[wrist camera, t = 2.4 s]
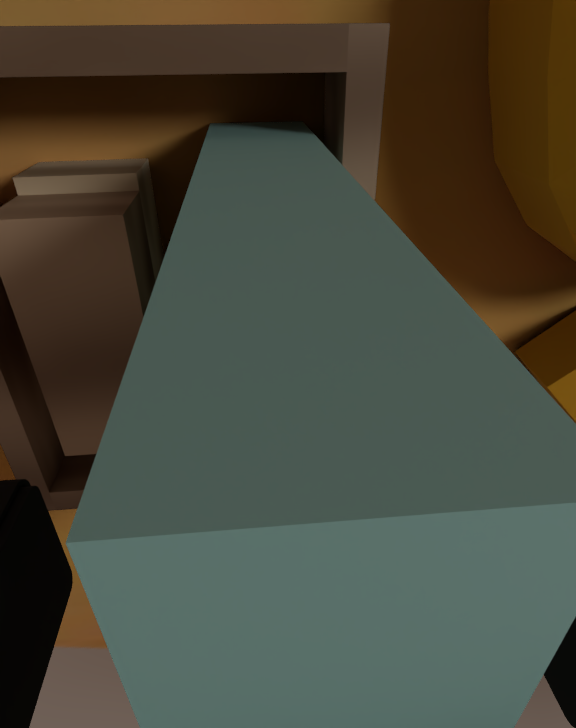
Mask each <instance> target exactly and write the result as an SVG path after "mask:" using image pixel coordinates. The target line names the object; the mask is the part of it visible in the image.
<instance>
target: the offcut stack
mask: <svg viewBox="0 0 576 728" xmlns="http://www.w3.org/2000/svg"><path fill="white" fill-rule="evenodd" d="M13 181H14V184H15V187H16V191H17V194H18V196H16V197H15V198H14V199H12V200H11V201H9V202H8V203H6V204H5V205H3V206H2V207H0V276H1V279H2V282H3V284H4V287H5V290H6V293H7V296H8V298H9V301H10V304H11V307H12V309H13V312H14V315H15V318H16V321H17V323H18V326H19V329H20V332H21V335H22V337H23V340H24V343H25V346H26V348H27V351H28V354H29V357H30V360H31V362H32V365H33V368H34V371H35V374H36V376H37V379H38V382H39V385H40V387H41V390H42V393H43V396H44V399H45V401H46V404H47V407H48V410H49V413H50V415H51V418H52V421H53V424H54V426H55V429H56V432H57V435H58V438H59V440H60V443H61V446H62V449H63V452H64V454H65V456H74V455H88V454H97V451H98V448H99V445H100V442H101V439H102V436H103V433H104V430H105V428H106V425H107V422H108V419H109V416H110V413H111V410H112V407H113V404H114V401H115V399H116V396H117V393H118V390H119V387H120V384H121V381H122V378H123V375H124V372H125V370H126V367H127V364H128V361H129V358H130V355H131V352H132V349H133V346H134V343H135V341H136V338H137V335H138V332H139V329H140V326H141V323H142V320H143V317H144V314H145V312H146V309H147V306H148V303H149V300H150V297H151V294H152V291H153V288H154V285H155V283H156V280H157V277H158V274H159V271H160V268H161V265H162V262H163V259H164V254H163V248H162V242H161V236H160V229H159V223H158V217H157V211H156V205H155V198H154V192H153V186H152V180H151V174H150V167H149V161H148V158H146V159H116V160H87V161H57V162H39V163H37V164H35V165H34V166H32V167H30V168H28V169H27V170H25V171H23V172H21V173H20V174H18V175H16V176H14V177H13Z"/></svg>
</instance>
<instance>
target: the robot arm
mask: <svg viewBox="0 0 576 728" xmlns="http://www.w3.org/2000/svg"><path fill="white" fill-rule="evenodd" d="M71 588H72V571H71V568H70V566H69V563H68V561H67V558H66V556H65V553H64V550H63V548H62V545H61V543H60V540H59V538H58V535H57V532H56V530H55V527H54V525H53V522H52V520H51V517H50V515H49V512H48V509H47V507H46V504H45V502H44V499H43V497H42V494H41V492H40V489H39V488H38V487H37V486H31V485H30V483H29V481H28V480H26V479H17V480H3V481H0V728H29V726H30V723H31V719H32V716H33V713H34V709H35V706H36V703H37V700H38V696H39V693H40V690H41V687H42V683H43V680H44V677H45V674H46V670H47V667H48V664H49V660H50V657H51V654H52V651H53V648H54V644H55V641H56V638H57V635H58V631H59V628H60V625H61V622H62V618H63V615H64V612H65V609H66V605H67V602H68V599H69V596H70V592H71ZM544 676H545V678H546V680H547V682H548V684H549V685H550V688H551V689H552V692H553V694H554V696H555V698H556V699H557V701H558V703H559V705H560V707H561V709H562V711H563V713H564V715H565V717H566V718H567V720H568V721H569V723H570V724H571V725H572V726H573V727H574V728H576V617H575V619H574V621H573V622H572V624H571V626H570V628H569V630H568V631H567V633H566V635H565V637H564V638H563V640H562V642H561V644H560V646H559V647H558V649H557V651H556V653H555V655H554V656H553V658H552V660H551V662H550V664H549V665H548V667H547V669H546V671H545V673H544Z"/></svg>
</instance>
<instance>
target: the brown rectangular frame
mask: <svg viewBox="0 0 576 728" xmlns="http://www.w3.org/2000/svg"><path fill="white" fill-rule="evenodd" d="M389 29H390V23H346V24H228V25H109V26H0V77H54V76H119V75H184V74H250V73H315V72H325V105H324V142H323V144H324V145H325V147H326V148H327V149H328V150H329V151H330V152H331V153H332V154H333V155H334V156H335V158H336V159H337V160H338V161H339V162H340V163H341V164H342V165H343V166H344V168H345V169H346V170H347V171H348V172H349V173H350V174H351V175H352V176H353V178H354V179H355V180H356V181H357V182H358V183H359V184H360V185H361V186H362V188H363V189H364V190H365V191H366V192H367V193H368V194H369V195H370V196H371V197H372V199H373V200H374V201H375V194H376V182H377V170H378V159H379V147H380V135H381V123H382V111H383V100H384V88H385V76H386V64H387V53H388V41H389ZM0 444H1V446H2V448H3V451H4V453H5V455H6V458H7V460H8V462H9V464H10V467H11V469H12V471H13V473H14V476H15V478H16V480H17V479H26V480H28V481H29V483H30V485H31V486H37V487H38V488H39V489H40V492H41V494H42V497H43V499H44V502H45V504H46V507H47V509H48V511H50V510H64V509H77V508H78V506H79V503H80V500H81V497H82V494H83V491H84V489H85V486H86V483H87V480H88V477H89V474H90V471H91V468H92V465H93V462H94V460H95V457H96V454H88V455H74V456H65V454H64V452H63V449H62V446H61V443H60V440H59V438H58V435H57V432H56V429H55V426H54V424H53V421H52V418H51V415H50V413H49V410H48V407H47V404H46V401H45V399H44V396H43V393H42V390H41V387H40V385H39V382H38V379H37V376H36V374H35V371H34V368H33V365H32V362H31V360H30V357H29V354H28V351H27V348H26V346H25V343H24V340H23V337H22V335H21V332H20V329H19V326H18V323H17V321H16V318H15V315H14V312H13V309H12V307H11V304H10V301H9V298H8V296H7V293H6V290H5V287H4V284H3V282H2V279H1V276H0Z"/></svg>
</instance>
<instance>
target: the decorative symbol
mask: <svg viewBox="0 0 576 728" xmlns="http://www.w3.org/2000/svg"><path fill="white" fill-rule="evenodd" d="M488 78H489V92H490V106H491V119H492V133H493V147H494V161H495V163H496V165H497V167H498V169H499V171H500V173H501V175H502V177H503V179H504V181H505V183H506V185H507V187H508V189H509V191H510V193H511V195H512V197H513V199H514V201H515V203H516V205H517V207H518V209H519V211H520V213H521V215H522V217H523V219H524V221H525V223H526V225H527V226H529V227H530V228H531V229H533V230H534V231H535V232H537V233H538V234H539V235H541V236H542V237H543V238H545V239H546V240H547V241H548V242H550V243H551V244H552V245H554V246H555V247H556V248H558V249H559V250H560V251H562V252H563V253H564V254H566V255H567V256H568V257H570V258H571V259H572V260H574V261H575V262H576V0H490V3H489V41H488ZM515 353H516V354H517V355H518V357H519V358H520V359H521V360H522V362H523V363H524V364H525V365H526V367H527V368H528V369H529V371H530V372H531V373H532V374H533V376H534V377H535V378H536V379H537V381H538V382H539V383H540V384H541V386H542V387H543V388H544V389H545V390H546V391H547V392H548V394H549V395H550V396H551V397H552V398H553V399H554V400H555V401H556V402H557V404H558V405H559V406H560V407H561V408H562V409H563V410H564V411H565V412H566V413H567V415H568V416H569V417H570V418H571V419H572V420H573V421H574V422H575V423H576V311H574V312H573V313H571V314H570V315H568V316H567V317H565V318H564V319H562V320H561V321H559V322H558V323H556V324H555V325H554V326H552V327H551V328H549V329H548V330H546V331H545V332H543V333H542V334H540V335H539V336H537V337H536V338H534V339H533V340H531V341H530V342H528V343H527V344H525V345H524V346H522V347H521V348H519V349H518V350H516V351H515Z"/></svg>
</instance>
